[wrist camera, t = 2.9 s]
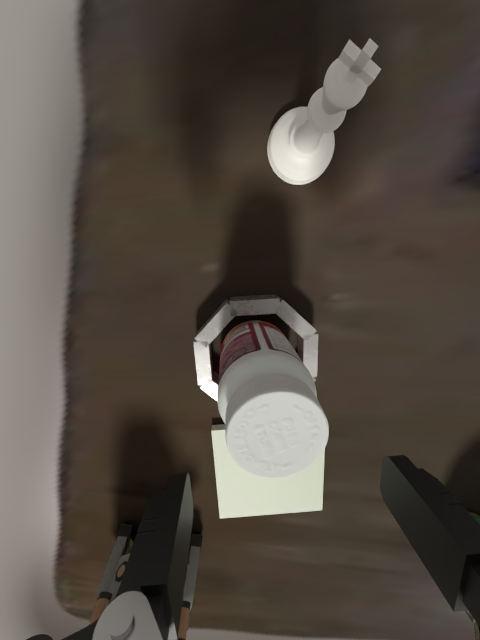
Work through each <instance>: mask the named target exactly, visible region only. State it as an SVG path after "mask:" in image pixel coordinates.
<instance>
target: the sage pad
mask: <svg viewBox="0 0 480 640" xmlns="http://www.w3.org/2000/svg"><path fill="white" fill-rule="evenodd" d="M225 431H226V425H225V424H221V425H212V430H211V432H212V442H213V452H214V463H215V473H216V484H217V494H218V504H219V515H220V518H233V517H245V516H257V515H270V514H282V513H294V512H307V511H319V510H322V502H323V478H324V454H325V449H324V451H323V453H322V454H321V456H320V457H319V458H318V459H317V460H316V461H315V462H314V463H313V464H312V465H311V466H310V467H308V468H307V469H305V470H304V471H302V472H300V473H298V474H295V475H292V476H289V477H284V478H263V477H259V476H256V475H253V474H251V473H249V472H247V471H245V470H244V469H242V468H241V467H240V466H239V465H238V464H237V463H236V462H235V461H234V460H233V458H232V457H231V455H230V453H229V451H228V448H227V444H226V437H225Z"/></svg>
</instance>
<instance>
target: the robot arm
mask: <svg viewBox="0 0 480 640" xmlns="http://www.w3.org/2000/svg"><path fill="white" fill-rule="evenodd" d="M380 488H381V493H382V497H383V499H384V502H385V503H386V505H387V507H388V508H389V510H390V512H391V513H392V515H393V516H394V518H395V519H396V521H397V523H398V524H399V526H400V527H401V529H402V531H403V532H404V534H405V535H406V537H407V538H408V540H409V542H410V543H411V545H412V546H413V548H414V549H415V551H416V553H417V554H418V556H419V557H420V559H421V561H422V562H423V564H424V565H425V567H426V568H427V570H428V572H429V573H430V575H431V576H432V578H433V580H434V581H435V583H436V584H437V586H438V587H439V589H440V591H441V592H442V594H443V595H444V597H445V598H446V600H447V602H448V603H449V605H450V606H451V608H452V610H453V611H454V612H455V611H464V610H468V611H469V612H470V614H471V615H472V617H473V618H474V620H475V624H474V630H475V638H476V640H480V524H479V523H478V522H477V521H476V520H475V519H474V518H473V517H472V516H471V514H470V513H469V512H468V511H467V510H466V509H465V508H464V507H463V506H461V505H460V503H459V502H458V501H457V499H456V498H455V497H454V496H453V495H451V494H450V492H449V491H448V490H447V489H446V488H445V487H444V485H443V484H442V483H441V482H440V481H439V480H438V479H437V478H435V477H434V476H432V475H431V474H429V473H428V472H427V471H425V470H424V469H422V468H421V469H417V468H416V467H415V465H414V464H413V463H412V462H411V461H410V460H409V459H408V458H407V457H406V456H404V455H399V456H387V457H384V458H383V464H382V474H381V484H380ZM192 523H193V499H192V491H191V484H190V476H189V473H185V474H174V475H170V476H169V478H168V482H167V486H166V489H165V491H156V492H155V493H154V494H153V496H152V497H151V498H150V500H149V501H148V503H147V504H146V506H145V509H144V512H143V515H142V519H141V523H140V525H139V528H138V531H137V536H136V537H135V540H134V543H133V546H132V550H131V553H130V556H129V559H128V562H127V565H126V568H125V571H124V574H123V577H122V581H121V584H120V587H119V589H118V592H117V594H116V596H115V598H114V600H113V601H112V602H111V603H110V604H109V605H108V606H107V607H106V609H105V610H104V611H103V613H102V615H101V616H100V617H99V618H98V619H97V620H96V621H94V622H93V623H92V624H90V625H89V626H87V627H86V628H84V629H82V630H80V631H78V632H76V633H74V634H72V635H70V636H68V637H66V638H64V639H62V640H178V632H179V624H180V616H181V609H182V601H183V593H184V585H185V577H186V570H187V562H188V554H189V546H190V539H191V531H192ZM27 640H53V639H52V638H51V637H50V636H48V635H44V634H40V635H36V636H33V637H31V638H29V639H27Z"/></svg>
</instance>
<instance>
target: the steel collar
mask: <svg viewBox="0 0 480 640" xmlns="http://www.w3.org/2000/svg"><path fill="white" fill-rule="evenodd" d="M260 314H277V315H278V316H279V317H280V318H281V319H282V320H283V321H284V322H286V323H287V324H288V325H289V326H290V327H291V328H292V329H293V330H294V331H296V332H297V354H298V356H299V357H300V359H301V360H302V362H303V363H304V365H305V366H306V368H307V369H308V371H309V372H310V374H311V376H312V378H313V381H315V378H314V377H317V360H318V333H317V332H316V330H315V329H314V328H313V327H312V326H311V325H310V324H309V323H308V322H307V321H306V320H305V319H303V318H302V317H301V316H300V315H299V314H298V313H297V312H296V311H295V310H294V309H293V308H292V307H290V306H289V305H288V304H287V303H286V302H285V301H284V300H283V299H282V298H281V297H280V296H279V295H278V296H276V295H275V294H271V295H254V296H237V297H230V301H229V300H228V299H226V300H225V301H224V302H223V303H222V304H221V305H220V306H219V308H218V309H217V310H216V311H215V312H214V313H213V314H212V315H211V317H210V318H209V319H208V320H207V321H206V322H205V323H204V324H203V325H202V327H201V328H200V329H199V330H198V331H197V334H196V336H195V339H194V352H195V361H196V371H197V380H198V385H200V389H202V390H203V391H204V392H206V393H207V394H208V395H210V396H211V397H212V398H214V399H215V400H216V401H218V397H217V392H218V382H219V374H218V373H216V372H215V371H214V370H213V361H212V350H211V342H212V341H213V340H214V339H215V337H216V336H217V335H218V334H219V333H220V332H221V331H222V330H223V329H224V328H225V326H226V325H227V324H228V323H229V322H230V321H231V320H232V319H233V318H234V317H235V316H244V315H260Z"/></svg>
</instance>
